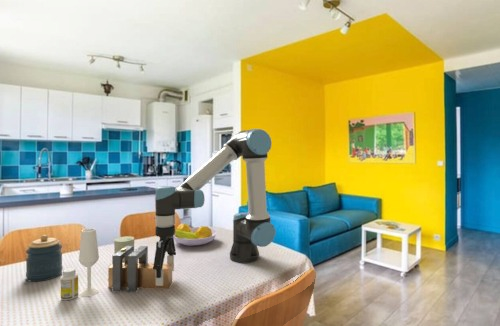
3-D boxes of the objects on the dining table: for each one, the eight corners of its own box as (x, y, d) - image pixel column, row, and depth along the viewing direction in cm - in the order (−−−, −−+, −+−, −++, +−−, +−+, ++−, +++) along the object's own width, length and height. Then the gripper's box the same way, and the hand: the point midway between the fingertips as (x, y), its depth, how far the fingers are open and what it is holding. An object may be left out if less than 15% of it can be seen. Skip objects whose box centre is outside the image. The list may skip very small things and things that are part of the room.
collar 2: (147, 278, 124) (147, 246, 123) (135, 292, 112) (135, 256, 111) (140, 278, 124) (140, 246, 123) (127, 292, 112) (127, 255, 111)
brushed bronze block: (172, 283, 120) (172, 263, 120) (168, 288, 115) (168, 268, 114) (114, 281, 121) (114, 262, 120) (108, 287, 116) (108, 267, 115)
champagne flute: (97, 295, 109) (96, 231, 108) (76, 297, 107) (76, 232, 106) (100, 287, 115) (100, 227, 115) (81, 289, 114) (81, 228, 113)
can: (127, 266, 137) (127, 241, 136) (109, 265, 139) (109, 240, 138) (138, 259, 146) (138, 235, 145) (122, 258, 148) (121, 234, 147)
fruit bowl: (204, 234, 193) (204, 217, 193) (224, 244, 171) (224, 225, 171) (162, 240, 178) (162, 222, 177) (178, 253, 155) (178, 232, 155)
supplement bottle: (75, 292, 111) (74, 265, 111) (80, 296, 108) (80, 269, 107) (58, 297, 107) (58, 270, 107) (63, 302, 104) (63, 274, 103)
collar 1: (133, 278, 124) (133, 244, 123) (120, 291, 112) (120, 254, 111) (126, 278, 124) (126, 244, 124) (112, 291, 112) (112, 254, 112)
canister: (39, 284, 118) (39, 240, 117) (18, 279, 122) (17, 237, 122) (69, 272, 130) (69, 232, 130) (49, 267, 135) (48, 229, 134)
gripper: (166, 218, 129) (166, 265, 130) (143, 233, 104) (143, 292, 105) (182, 218, 129) (182, 266, 129) (164, 233, 104) (164, 292, 105)
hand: (165, 277), depth 117 cm, fingers open, 13 cm apart
